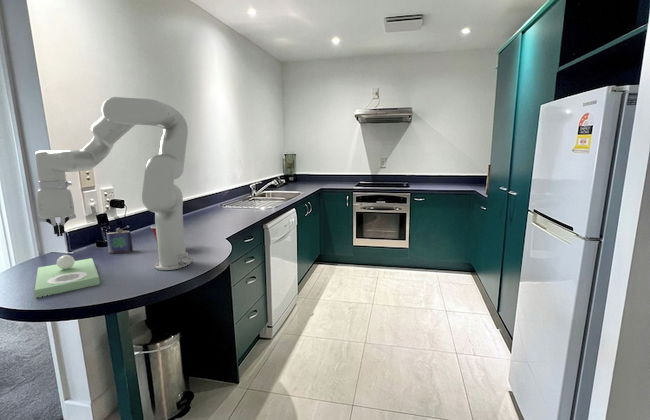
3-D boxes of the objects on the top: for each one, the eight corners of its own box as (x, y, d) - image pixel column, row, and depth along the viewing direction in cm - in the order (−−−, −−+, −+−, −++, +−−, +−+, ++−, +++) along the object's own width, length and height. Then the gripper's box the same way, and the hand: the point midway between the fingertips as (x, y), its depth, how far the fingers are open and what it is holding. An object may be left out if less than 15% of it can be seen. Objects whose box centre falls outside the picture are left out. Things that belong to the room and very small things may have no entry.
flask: (108, 253, 141) (105, 229, 139) (110, 252, 144) (107, 228, 142) (132, 251, 144) (129, 228, 142) (133, 249, 146) (131, 226, 145)
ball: (78, 267, 117) (76, 254, 116) (63, 272, 112) (61, 258, 111) (69, 265, 118) (67, 252, 118) (54, 270, 114) (52, 256, 113)
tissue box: (39, 274, 118) (37, 267, 117) (92, 264, 128) (92, 257, 127) (36, 298, 98) (34, 289, 97) (100, 284, 108) (98, 276, 107)
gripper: (78, 183, 123) (84, 230, 127) (25, 185, 114) (33, 236, 117) (80, 185, 118) (85, 234, 121) (24, 187, 108) (32, 241, 111)
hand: (59, 235), depth 119 cm, fingers closed
